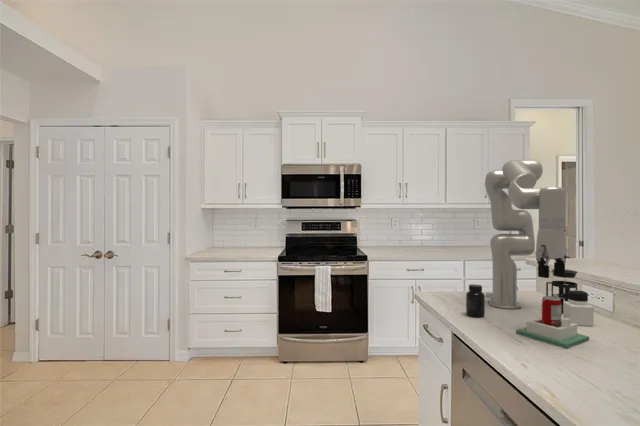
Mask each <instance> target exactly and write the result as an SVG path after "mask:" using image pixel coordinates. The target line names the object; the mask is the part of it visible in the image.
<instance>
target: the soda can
mask: <svg viewBox="0 0 640 426" xmlns="http://www.w3.org/2000/svg"><path fill="white" fill-rule="evenodd" d="M561 304H562V303H561V300H560V298H558V297H553V296H551V295H548V296H546V295H543V296H542V299H541V317H542V324H545V325H549V326H553V327H557V328H558V327H561V321H562V314H561Z"/></svg>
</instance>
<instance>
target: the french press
mask: <svg viewBox="0 0 640 426" xmlns="http://www.w3.org/2000/svg"><path fill="white" fill-rule="evenodd" d="M566 259H571V257H570V256H568V255H566ZM566 259H565V260H566ZM566 261H567V260H566ZM551 272H552V276H553V277H558V278H563V280H552V281H546V283H545V296H549V285H550V284H551V285H550V286H551V291H550V292H551V295H550V296H553V297H558V298H560V300H561V303H562V304H561V315H563V302H564V301H568V291H570V290H571V289H575V290H578V283H577V282H574V281H569V280H568V281H567V280H566V278H567V279H573V278H575V277H576V276H577V274H578V271H577V270H573V269H566V268H565V275H557V274H554V268H553V269H551ZM554 287H557V288H558V293H554ZM568 302H569V301H568Z"/></svg>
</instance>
